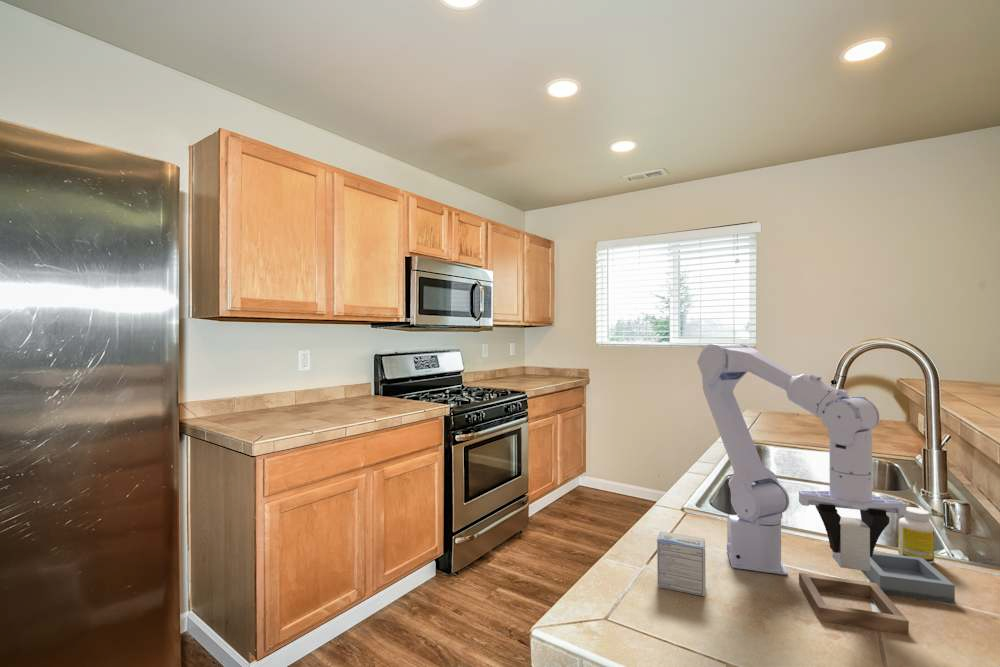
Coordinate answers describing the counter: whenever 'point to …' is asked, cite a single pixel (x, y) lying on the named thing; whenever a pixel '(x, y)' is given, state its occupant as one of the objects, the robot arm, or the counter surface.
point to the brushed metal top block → (853, 544)
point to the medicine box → (681, 563)
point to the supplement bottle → (916, 535)
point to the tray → (909, 577)
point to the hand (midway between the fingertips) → (850, 552)
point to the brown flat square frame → (884, 621)
